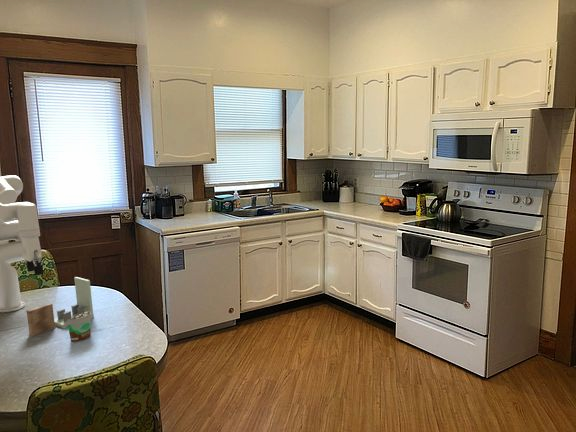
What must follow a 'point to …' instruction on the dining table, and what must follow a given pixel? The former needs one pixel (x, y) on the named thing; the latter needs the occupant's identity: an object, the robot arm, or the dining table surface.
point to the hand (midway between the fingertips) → (35, 272)
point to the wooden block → (40, 319)
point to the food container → (80, 326)
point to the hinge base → (82, 303)
